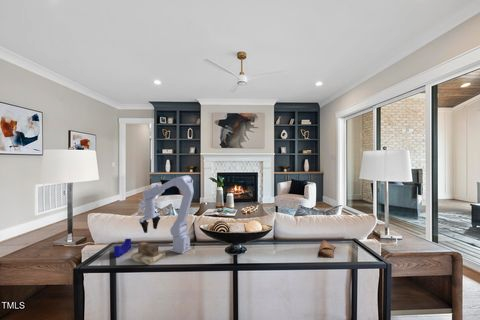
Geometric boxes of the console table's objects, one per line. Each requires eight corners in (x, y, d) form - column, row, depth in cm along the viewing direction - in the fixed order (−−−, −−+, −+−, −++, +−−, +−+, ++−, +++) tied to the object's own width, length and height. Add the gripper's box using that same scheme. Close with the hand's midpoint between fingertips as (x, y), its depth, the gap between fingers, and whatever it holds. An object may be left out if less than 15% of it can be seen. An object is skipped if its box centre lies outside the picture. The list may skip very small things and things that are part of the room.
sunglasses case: (334, 258, 131) (327, 247, 132) (322, 263, 133) (316, 251, 135) (335, 246, 147) (330, 236, 148) (325, 250, 150) (319, 240, 151)
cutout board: (165, 256, 134) (165, 252, 134) (150, 265, 125) (150, 260, 124) (147, 251, 141) (147, 247, 140) (131, 259, 131) (131, 255, 131)
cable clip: (124, 248, 146) (124, 238, 146) (131, 248, 146) (131, 238, 146) (111, 257, 134) (111, 246, 134) (119, 257, 134) (119, 246, 134)
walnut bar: (158, 254, 131) (158, 245, 131) (154, 256, 129) (154, 247, 128) (142, 250, 136) (142, 241, 136) (138, 252, 134) (137, 243, 134)
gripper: (154, 205, 157) (154, 226, 157) (135, 210, 144) (136, 233, 144) (162, 206, 154) (162, 227, 154) (144, 212, 141) (144, 235, 141)
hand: (150, 230), depth 149 cm, fingers open, 7 cm apart
